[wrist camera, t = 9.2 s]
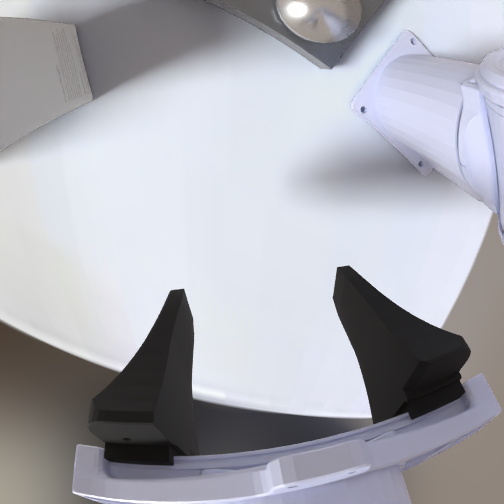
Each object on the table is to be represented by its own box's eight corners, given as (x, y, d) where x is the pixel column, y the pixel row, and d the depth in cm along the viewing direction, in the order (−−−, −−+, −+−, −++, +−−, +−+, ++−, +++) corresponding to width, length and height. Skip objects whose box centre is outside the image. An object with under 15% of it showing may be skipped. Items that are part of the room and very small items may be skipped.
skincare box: (27, 52, 12) (-106, 82, 2) (80, 22, 12) (-51, 9, 2) (48, 125, 16) (-71, 208, 6) (100, 101, 16) (-18, 164, 6)
